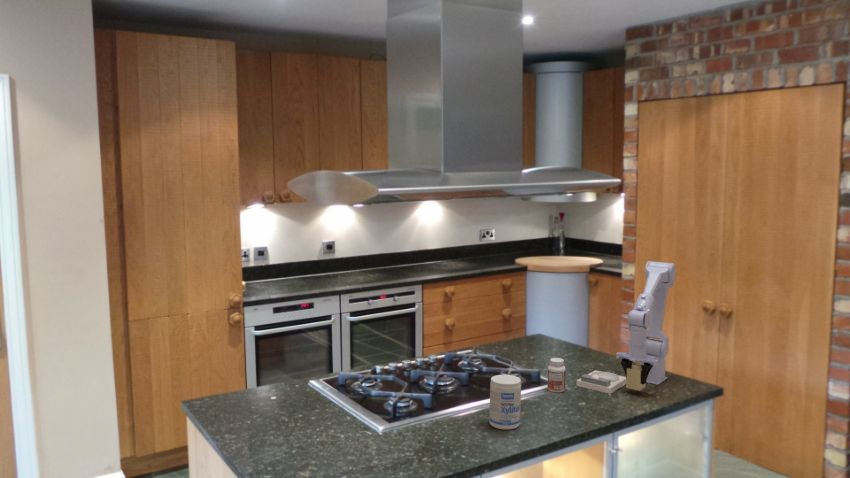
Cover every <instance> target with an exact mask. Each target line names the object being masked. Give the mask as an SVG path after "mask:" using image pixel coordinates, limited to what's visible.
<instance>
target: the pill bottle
mask: <svg viewBox="0 0 850 478" xmlns="http://www.w3.org/2000/svg"><path fill="white" fill-rule="evenodd" d="M549 363H550V364H549V365H548V367H547V390H548V391H549V392H551V393H563V392H564V391H565V390H566V375H567V374H566V367H565V364H564V359H563V358H560V357H552V358H550V361H549Z"/></svg>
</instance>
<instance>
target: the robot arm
mask: <svg viewBox="0 0 850 478" xmlns="http://www.w3.org/2000/svg"><path fill="white" fill-rule="evenodd" d="M676 269H677V268H676V265H675V263H673V262H671V263H670V262H662V261H652V260H648V261H647V262H646V263H645V267H644V274H645V279H646V282H645V285H644V289H643V293H642V292H641V293H640V294H638V296H637V300H636V302H635V304H634V307H633V309H632V310H630V311H629V312H628V315H627V325H628V327H627V328H628V329H627V330H628V331H629V337H628V338H629V340H628V341H629V342H628V344H629V346H628V352H621V351H618V352H616V355H615V356H616V358H615V359H617V360H619V359H621V361H620V365H621V367H622V369H623V371H624V375H625V377H626V378H627V368H628V367H630V366H632V365H633V362H635V363H640V364H641V365H640V366H641V369H642V384H645V383H646V384H647V383H648V384H653V385H660V384H661V383H663V382H665V380H667V379H668V376H666V365H667V364H666V359H665V358H666V357H667V356H668V354H669V341H670V340H669V337H668V336H667V335H666V334H665V333H664V331H663V326H664V320H665V319H664V318H665V315H666V314H665V313H666V306H667V300H668V299H667V298H668V294H669V290H670V288H672V287H674V284H675V280H676V274H677V270H676Z"/></svg>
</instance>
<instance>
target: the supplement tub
mask: <svg viewBox="0 0 850 478" xmlns="http://www.w3.org/2000/svg"><path fill="white" fill-rule="evenodd" d="M489 385H490V389H489V419H488V420H489V421H488V422H489V424H490V426H492V427H493V428H496V429H499V430H505V431H506V430H514V429H516V428H518V427H519V426H520V424H521V408H522V407H521V405H522V404H521V402H522V401H521V400H522V379H521V378H520V377H518V376H516V375H512V374H498V375H497V374H496V375H493V376H492V377H491V378H490V384H489Z"/></svg>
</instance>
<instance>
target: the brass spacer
mask: <svg viewBox="0 0 850 478" xmlns="http://www.w3.org/2000/svg"><path fill="white" fill-rule="evenodd" d="M641 366H642V365H635V364H632V366H630V367H628V368H627V378H626V384H625V388H626V389H629V390H630V389H631V390H636V391H639V392H640V391H642V390H643V389H645V388H646V384H647V382H646V383H645V384H642V369H641Z"/></svg>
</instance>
